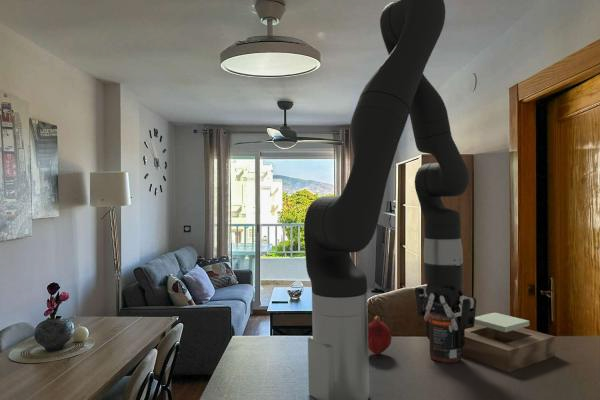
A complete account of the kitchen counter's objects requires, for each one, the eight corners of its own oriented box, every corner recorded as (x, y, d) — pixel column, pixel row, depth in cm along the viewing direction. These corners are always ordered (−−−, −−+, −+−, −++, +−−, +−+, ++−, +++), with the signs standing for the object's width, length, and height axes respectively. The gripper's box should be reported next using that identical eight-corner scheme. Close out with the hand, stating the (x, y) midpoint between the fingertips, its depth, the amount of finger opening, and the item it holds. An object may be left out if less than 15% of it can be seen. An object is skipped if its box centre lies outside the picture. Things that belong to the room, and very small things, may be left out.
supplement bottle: (463, 365, 82) (461, 306, 82) (431, 363, 83) (430, 305, 83) (458, 354, 87) (456, 299, 88) (428, 352, 89) (427, 298, 89)
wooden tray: (509, 372, 78) (508, 350, 78) (448, 349, 90) (448, 331, 90) (555, 356, 85) (554, 336, 85) (493, 337, 97) (493, 320, 97)
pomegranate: (392, 360, 85) (391, 320, 85) (363, 359, 86) (362, 320, 86) (390, 350, 90) (390, 313, 90) (363, 349, 91) (363, 312, 91)
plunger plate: (505, 332, 82) (505, 327, 82) (471, 322, 89) (470, 317, 89) (529, 325, 86) (529, 320, 86) (494, 316, 93) (494, 312, 93)
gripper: (404, 258, 90) (405, 337, 90) (459, 266, 77) (461, 358, 77) (429, 255, 93) (431, 331, 93) (486, 263, 81) (488, 350, 81)
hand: (444, 343), depth 85 cm, fingers closed on supplement bottle, 6 cm apart
